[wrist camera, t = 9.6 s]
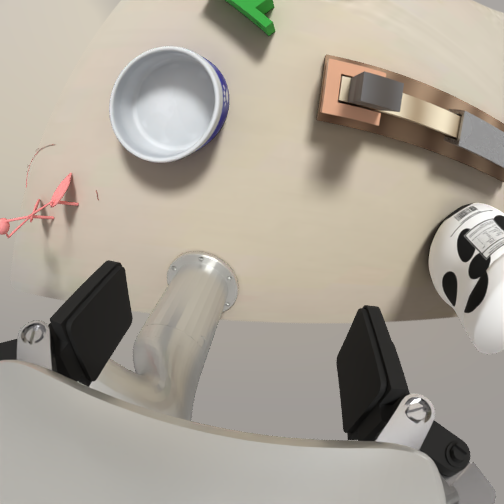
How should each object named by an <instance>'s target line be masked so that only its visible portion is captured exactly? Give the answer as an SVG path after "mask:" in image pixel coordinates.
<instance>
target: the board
mask: <svg viewBox="0 0 504 504" xmlns="http://www.w3.org/2000/svg"><path fill="white" fill-rule="evenodd" d="M328 59H334V60H339V61H343V62H347V63H352V64H356V65H360V66H363V67H367V68H371V69H374V70H378V71H381V72H384V73H386V78H389V79H392V80H395V81H398V82H401V83H404V87H403V93H404V94H407V95H410V96H413V97H415V98H418V99H421V100H423V101H426V102H428V103H431V104H433V105H436V106H438V107H440V108H443V109H445V110H447V111H449V109H457V110H464V111H467V112H469V113H471V114H473V115H474V116H476V117H478V118H480V119H482V120H484V121H486V122H487V123H489V124H491V125H493V126H494V127H496V128H498V129H499V130H501V131H503V132H504V124H503V123H502V122H500V121H498V120H497V119H495V118H493V117H492V116H490V115H488V114H486V113H485V112H483V111H481V110H479V109H478V108H476V107H474V106H472V105H470V104H468V103H466V102H464V101H462V100H460V99H458V98H456V97H454V96H452V95H450V94H448V93H445V92H443V91H441V90H439V89H436V88H434V87H432V86H429V85H427V84H424V83H422V82H419V81H417V80H414V79H411V78H409V77H406V76H403V75H400V74H397V73H394V72H391V71H388V70H385V69H382V68H379V67H375V66H372V65H368V64H364V63H361V62H357V61H353V60H349V59H344V58H340V57H335V56H330V55H326V56H325V61H324V69H323V77H322V85H321V93H320V100H319V107H318V114H317V120H318V121H323V122H329V123H333V124H338V125H343V126H347V127H352V128H356V129H360V130H364V131H368V132H372V133H376V134H379V135H383V136H386V137H390V138H393V139H397V140H400V141H403V142H406V143H410V144H413V145H416V146H419V147H422V148H424V149H427V150H430V151H433V152H436V153H438V154H441V155H444V156H446V157H449V158H451V159H454V160H456V161H459V162H461V163H464V164H466V165H468V166H471V167H473V168H475V169H478V170H480V171H482V172H484V173H486V174H488V175H490V176H493V177H495V178H497V179H499V180H501V181H503V182H504V168H502V167H500V166H498V165H496V164H494V163H492V162H491V161H489V160H487V159H485V158H482V157H480V156H478V155H476V154H474V153H472V152H470V151H468V150H465V149H463V148H461V147H458V146H456V145H454V144H451V143H449V142H447V141H444V137H448V138H452V139H455V138H453V137H450V136H448V135H446V134H443V133H441V132H438V131H436V130H433V129H430V128H428V127H425V126H422V125H420V124H417V123H414V122H411V121H408V120H405V119H402V118H399V117H396V116H392V115H389V114H386V113H382V112H379V111H375V110H372V109H368V108H364V107H360V106H356V105H352V104H348V103H344V102H339V101H338V103H343V104H347V105H351V106H356V107H360V108H364V109H367V110H371V111H375V112H378V113H381V115H380V121H379V126H377V125H373V124H370V123H366V122H362V121H358V120H354V119H349V118H345V117H340V116H336V115H331V114H326V113H321V112H320V106H321V99H322V91H323V84H324V76H325V68H326V62H327V61H328ZM455 140H457V139H455Z"/></svg>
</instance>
